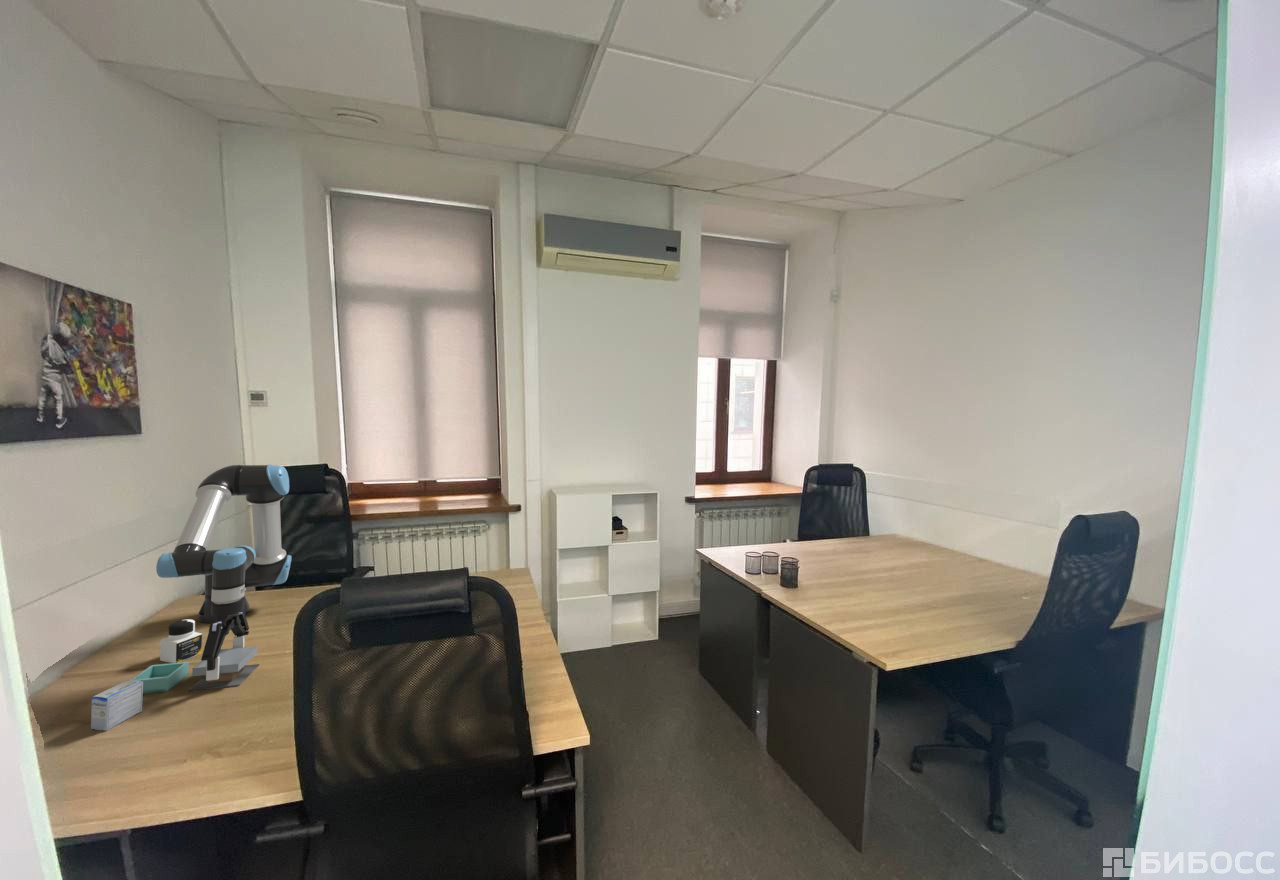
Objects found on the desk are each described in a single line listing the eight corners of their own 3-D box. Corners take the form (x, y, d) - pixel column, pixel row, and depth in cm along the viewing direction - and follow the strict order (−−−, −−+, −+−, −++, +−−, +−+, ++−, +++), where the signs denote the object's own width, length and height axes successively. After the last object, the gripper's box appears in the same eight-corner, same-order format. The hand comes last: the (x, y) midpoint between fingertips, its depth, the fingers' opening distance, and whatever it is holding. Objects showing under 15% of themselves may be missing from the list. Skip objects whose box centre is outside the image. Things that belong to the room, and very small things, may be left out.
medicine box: (127, 710, 120) (128, 679, 119) (142, 711, 120) (143, 680, 119) (90, 730, 112) (90, 696, 112) (106, 731, 112) (107, 697, 111)
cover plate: (214, 657, 140) (215, 649, 140) (257, 653, 143) (257, 646, 143) (192, 676, 129) (192, 668, 129) (238, 671, 133) (238, 663, 133)
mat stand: (213, 669, 140) (213, 656, 140) (259, 665, 144) (259, 652, 144) (188, 691, 129) (188, 677, 129) (238, 686, 133) (239, 672, 133)
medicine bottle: (176, 664, 142) (177, 627, 142) (159, 661, 144) (160, 624, 143) (202, 653, 149) (203, 618, 149) (185, 650, 151) (186, 616, 150)
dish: (151, 678, 134) (151, 665, 134) (188, 674, 137) (188, 661, 137) (127, 695, 126) (128, 681, 126) (168, 691, 129) (168, 677, 128)
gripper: (219, 614, 125) (216, 688, 126) (263, 585, 149) (261, 647, 149) (185, 617, 123) (183, 692, 123) (235, 586, 147) (233, 649, 147)
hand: (225, 667), depth 136 cm, fingers open, 13 cm apart
